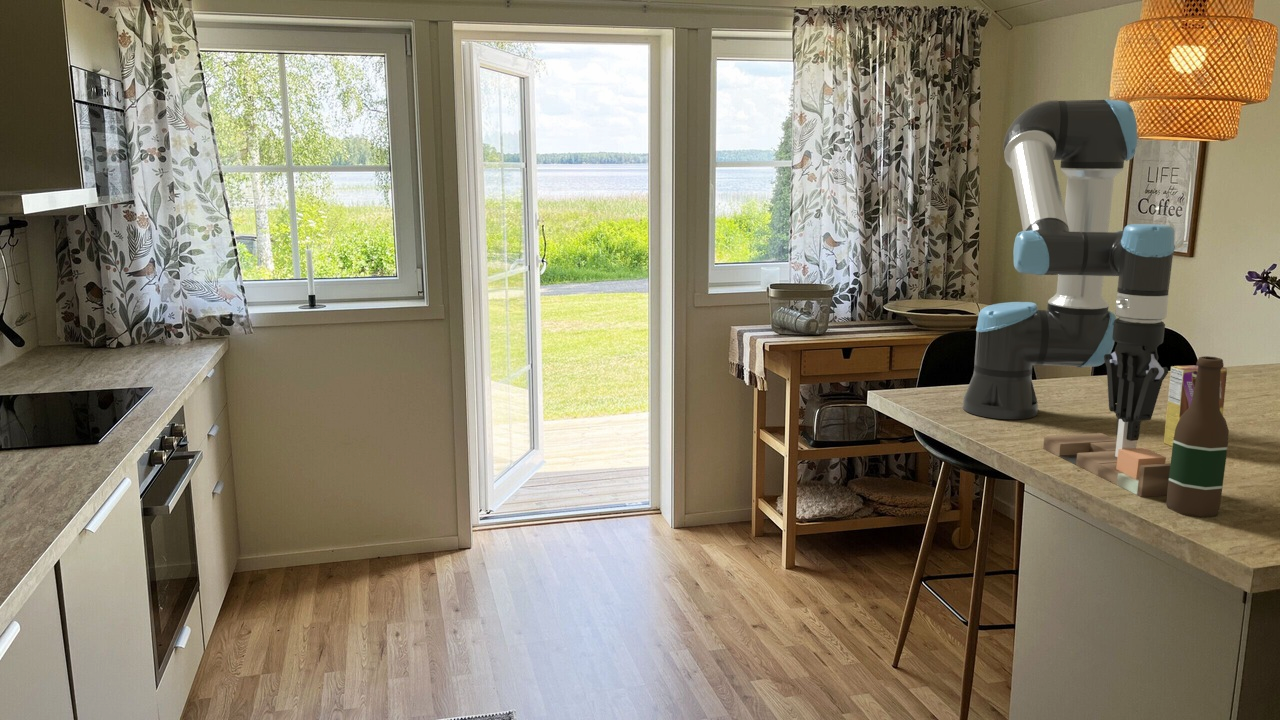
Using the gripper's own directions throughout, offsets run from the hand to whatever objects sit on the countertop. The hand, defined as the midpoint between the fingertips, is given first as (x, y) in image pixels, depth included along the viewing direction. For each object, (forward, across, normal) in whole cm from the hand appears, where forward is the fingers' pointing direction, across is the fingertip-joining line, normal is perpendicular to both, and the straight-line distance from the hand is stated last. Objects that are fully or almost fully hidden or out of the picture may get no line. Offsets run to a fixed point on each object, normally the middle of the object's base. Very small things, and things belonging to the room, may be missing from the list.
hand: (1125, 456), depth 165 cm
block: (+2, +3, 0) cm, 4 cm away
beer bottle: (+4, +15, +1) cm, 15 cm away
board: (+4, -6, +3) cm, 7 cm away
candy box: (+4, -16, +26) cm, 31 cm away
